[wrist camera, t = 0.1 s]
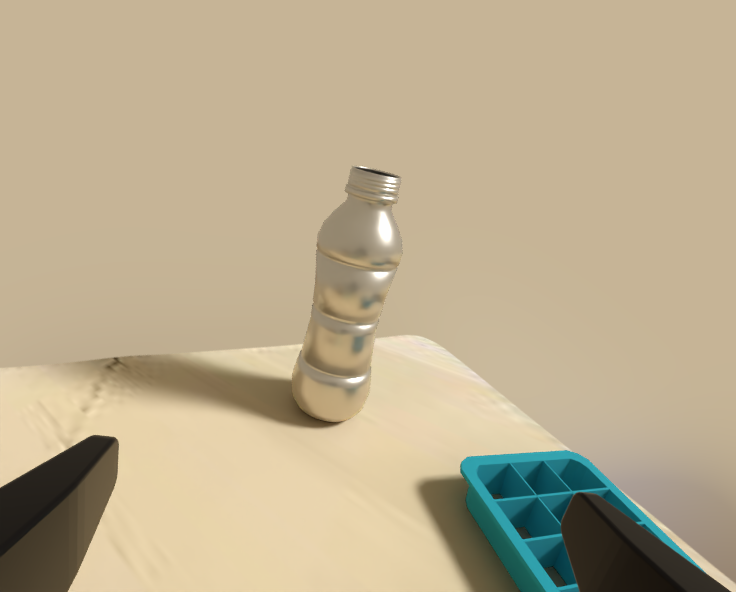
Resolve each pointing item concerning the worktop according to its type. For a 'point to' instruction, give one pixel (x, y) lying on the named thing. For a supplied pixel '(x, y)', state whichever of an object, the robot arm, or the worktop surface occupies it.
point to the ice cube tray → (539, 510)
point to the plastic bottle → (348, 297)
